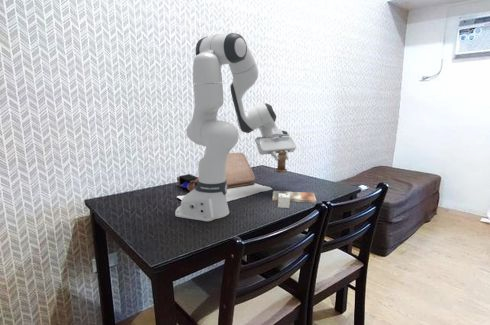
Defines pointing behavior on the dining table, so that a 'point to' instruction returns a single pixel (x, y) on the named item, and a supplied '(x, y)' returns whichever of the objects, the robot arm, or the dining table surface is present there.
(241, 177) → the case
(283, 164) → the pawn
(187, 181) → the figurine character
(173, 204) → the dining table surface
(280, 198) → the die
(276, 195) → the board
